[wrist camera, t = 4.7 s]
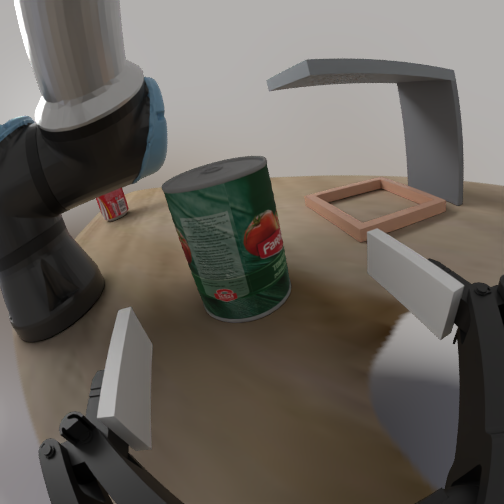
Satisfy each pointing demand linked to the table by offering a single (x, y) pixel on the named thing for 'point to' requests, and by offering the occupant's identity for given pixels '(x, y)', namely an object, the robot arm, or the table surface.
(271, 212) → the canned tomato
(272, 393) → the table surface
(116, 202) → the soda can
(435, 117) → the awning
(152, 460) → the table surface
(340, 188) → the pink square frame
